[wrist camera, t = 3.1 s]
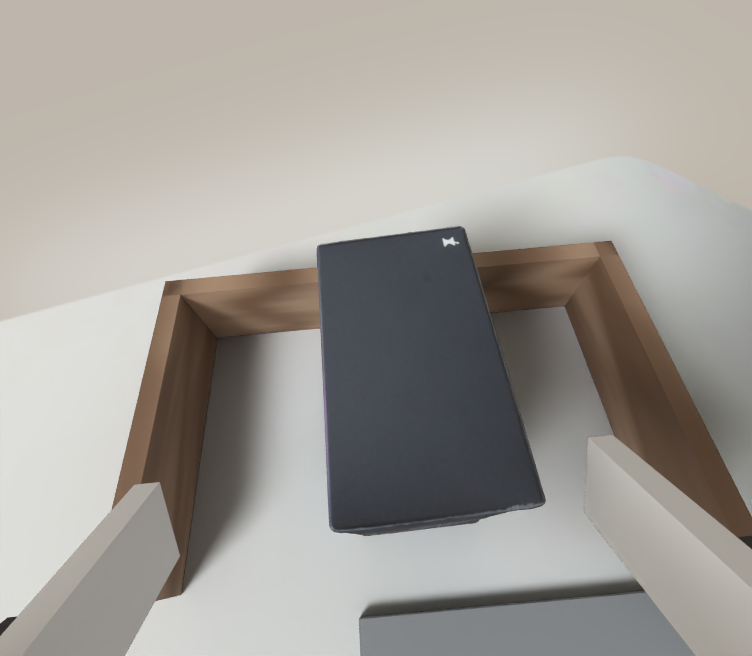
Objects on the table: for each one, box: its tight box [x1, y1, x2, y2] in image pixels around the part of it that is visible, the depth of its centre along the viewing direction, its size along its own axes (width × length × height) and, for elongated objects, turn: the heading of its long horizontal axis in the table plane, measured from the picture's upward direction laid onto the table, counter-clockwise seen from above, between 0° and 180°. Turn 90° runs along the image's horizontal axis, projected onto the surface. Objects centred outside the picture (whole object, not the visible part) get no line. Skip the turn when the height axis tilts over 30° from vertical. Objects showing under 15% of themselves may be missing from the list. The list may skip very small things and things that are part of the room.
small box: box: [317, 226, 546, 536], centre depth 17 cm, size 11×6×10 cm, turn 6°
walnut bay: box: [112, 241, 752, 601], centre depth 20 cm, size 25×15×5 cm, turn 95°
